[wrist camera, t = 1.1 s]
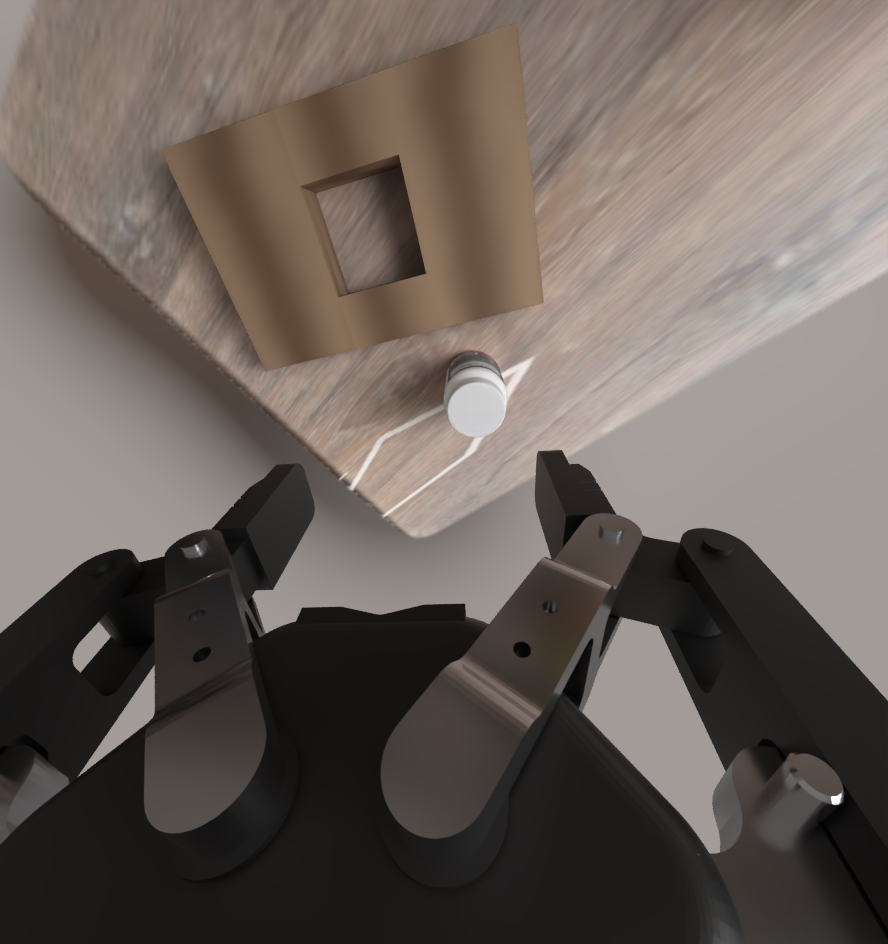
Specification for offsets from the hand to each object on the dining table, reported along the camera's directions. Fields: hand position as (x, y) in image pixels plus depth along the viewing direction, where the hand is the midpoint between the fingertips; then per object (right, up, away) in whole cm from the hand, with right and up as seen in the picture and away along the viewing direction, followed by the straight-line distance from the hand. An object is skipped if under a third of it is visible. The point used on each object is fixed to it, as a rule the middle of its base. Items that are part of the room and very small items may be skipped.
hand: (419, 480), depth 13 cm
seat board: (-4, +18, +15) cm, 23 cm away
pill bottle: (+3, +9, +20) cm, 22 cm away
